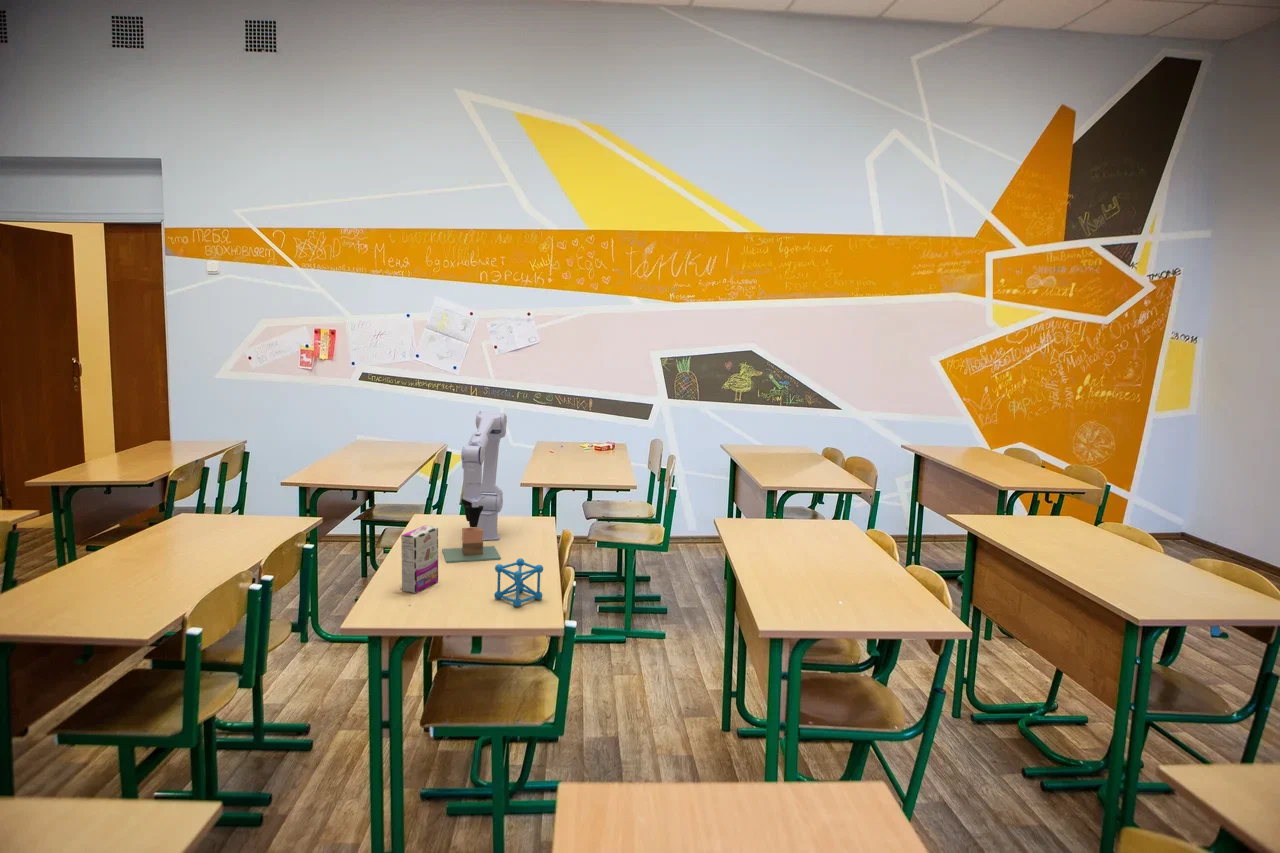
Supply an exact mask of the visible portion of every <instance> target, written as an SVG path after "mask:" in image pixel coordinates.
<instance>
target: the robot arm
mask: <svg viewBox="0 0 1280 853" xmlns="http://www.w3.org/2000/svg"><path fill="white" fill-rule="evenodd" d="M507 417H508V416H507V414H506V413H505V412H493V411H492V412H491V411H489V412H488V411H478V412H477V413H476V415H475V426H476V429H477V431H476V432H474V433H472V435H471V437H470V439H469V441H468V443H467V445H465V446H462V448H461V452H460V453H461V455H460V458H461V460H460V461H461V466H462V469H463V473H462V474H463V480H462V481H463V482H462V484H463V485H462V487H463V489H462V492H463V493H462V499H460V501H461V502H462V505H463V509H464V512H465V514H464V515H465V519H466V522H468V523H469V528H475V527H481V528H482V530H483V541H495V540H500V539H501V537H500V536H499V535H498V516H499V515H498V513H500V512H501V511H502V509H503V505H504V503H503V502H504V500H503V493H504V492H503V491H502V489H501V488H500V487H498V485H496V483H497V482H496V480H497V469H498V459H499V448H500V447H499V446H500V442H501V439H502V438H505V437H506V434H507V425H508V424H507V423H508V420H507Z"/></svg>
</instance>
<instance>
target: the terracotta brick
mask: <svg viewBox="0 0 1280 853" xmlns="http://www.w3.org/2000/svg"><path fill="white" fill-rule="evenodd" d="M461 541H463V543H464V544H466V543H483V544H484V540H483V530H482V528H481V527H462V529H461Z"/></svg>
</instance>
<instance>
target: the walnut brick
mask: <svg viewBox="0 0 1280 853" xmlns="http://www.w3.org/2000/svg"><path fill="white" fill-rule="evenodd" d="M461 541H462V540H461ZM461 543H462V544H461V546H462V547H461V548H462V552H463V555H464V556H467V555H483V547H484V542H483V543H466V544H464V543H463V541H462V542H461Z"/></svg>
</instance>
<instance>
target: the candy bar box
mask: <svg viewBox="0 0 1280 853" xmlns="http://www.w3.org/2000/svg"><path fill="white" fill-rule="evenodd" d="M400 537H401V538H400V539H401V591H402V592H404V591H405V593H410V594H418V593H419V592H422V591H423V590H425V589H427V588H429V587H430V586H433V585H435V584H436V583H438V582H439V527H437V526H432V525H423V526H420V527H417V528H415V529H414V530H410V531H408V532H406V533H404V534H401V536H400Z"/></svg>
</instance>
